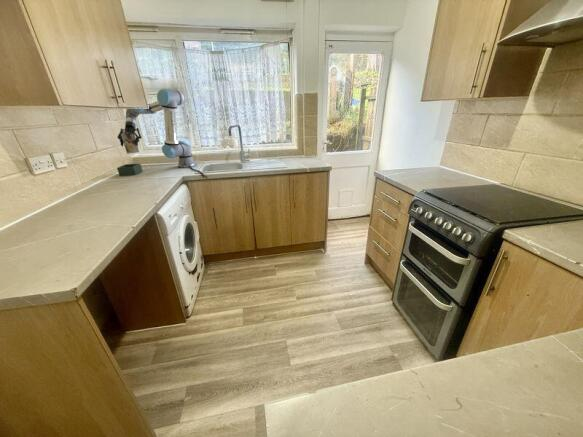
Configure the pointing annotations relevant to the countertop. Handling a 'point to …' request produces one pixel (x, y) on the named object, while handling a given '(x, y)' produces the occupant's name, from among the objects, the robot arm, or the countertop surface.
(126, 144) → the coffee box
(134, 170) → the tote
